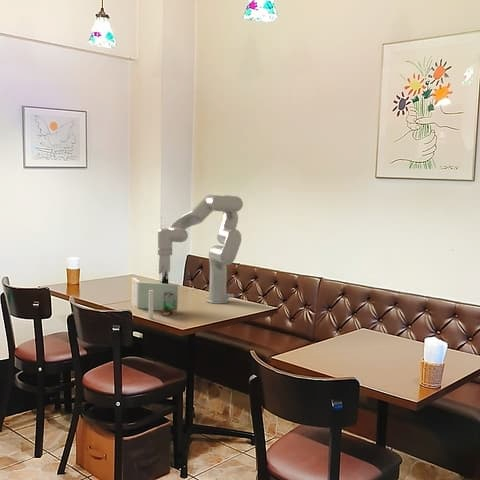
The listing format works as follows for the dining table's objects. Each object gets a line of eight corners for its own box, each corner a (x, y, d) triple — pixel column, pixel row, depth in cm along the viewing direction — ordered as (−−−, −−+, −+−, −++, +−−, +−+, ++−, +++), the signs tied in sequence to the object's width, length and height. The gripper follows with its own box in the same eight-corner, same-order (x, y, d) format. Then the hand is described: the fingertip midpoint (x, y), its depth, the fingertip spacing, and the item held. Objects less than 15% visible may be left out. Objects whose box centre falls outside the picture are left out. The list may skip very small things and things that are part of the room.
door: (141, 306, 312) (142, 281, 310) (178, 309, 308) (178, 284, 307) (140, 308, 309) (140, 282, 308) (176, 310, 306) (177, 285, 304)
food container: (175, 316, 295) (175, 297, 294) (163, 316, 295) (163, 297, 294) (175, 311, 307) (176, 292, 306) (164, 310, 307) (164, 292, 306)
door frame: (134, 302, 323) (134, 277, 321) (153, 318, 290) (153, 290, 288) (131, 303, 322) (131, 277, 320) (149, 319, 289) (149, 290, 288)
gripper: (160, 249, 319) (160, 283, 321) (155, 254, 304) (155, 289, 306) (174, 250, 319) (174, 283, 321) (170, 254, 304) (170, 289, 306)
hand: (165, 286), depth 314 cm, fingers closed
